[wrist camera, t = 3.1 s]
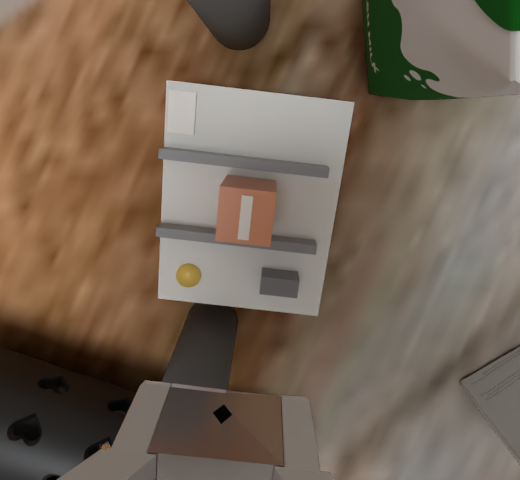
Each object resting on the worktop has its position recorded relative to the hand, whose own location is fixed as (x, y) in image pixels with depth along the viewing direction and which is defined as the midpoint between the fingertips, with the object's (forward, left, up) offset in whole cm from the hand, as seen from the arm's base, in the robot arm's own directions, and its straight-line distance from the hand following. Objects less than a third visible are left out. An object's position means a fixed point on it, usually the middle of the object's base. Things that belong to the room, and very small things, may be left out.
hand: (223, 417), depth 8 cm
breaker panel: (0, +1, -23) cm, 23 cm away
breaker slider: (0, 0, -19) cm, 19 cm away
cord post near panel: (+2, +11, -23) cm, 26 cm away
